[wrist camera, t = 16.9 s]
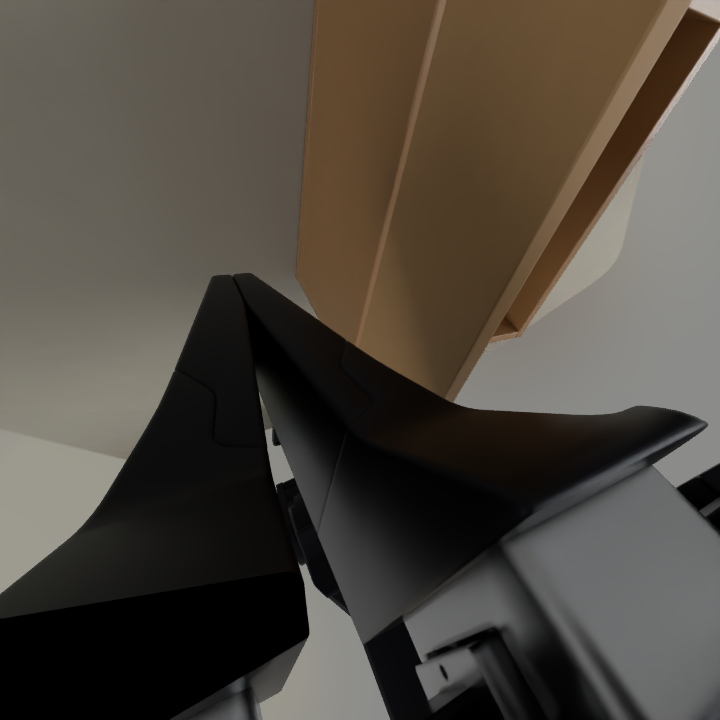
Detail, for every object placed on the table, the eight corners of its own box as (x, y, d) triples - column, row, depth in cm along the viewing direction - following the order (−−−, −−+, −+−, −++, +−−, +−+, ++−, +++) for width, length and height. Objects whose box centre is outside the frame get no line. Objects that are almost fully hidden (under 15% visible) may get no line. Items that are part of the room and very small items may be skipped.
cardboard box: (446, 264, 27) (520, 336, 22) (295, 276, 22) (347, 373, 17) (556, -13, 17) (741, 7, 12) (321, -104, 12) (469, -133, 7)
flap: (394, 501, 13) (384, 503, 13) (357, 382, 17) (349, 382, 17) (848, -258, 3) (822, -284, 3) (498, -131, 7) (480, -138, 7)
